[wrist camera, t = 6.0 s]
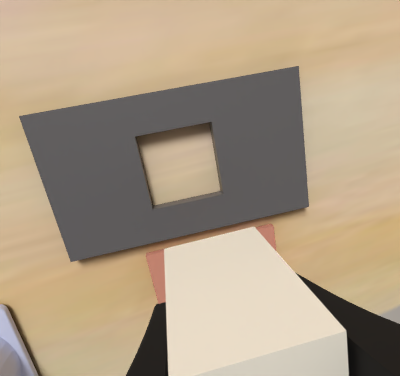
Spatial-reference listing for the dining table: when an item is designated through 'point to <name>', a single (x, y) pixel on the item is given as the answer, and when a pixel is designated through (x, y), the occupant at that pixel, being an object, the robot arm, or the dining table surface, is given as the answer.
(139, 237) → the board
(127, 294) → the dining table surface
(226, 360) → the plug
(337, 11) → the dining table surface
